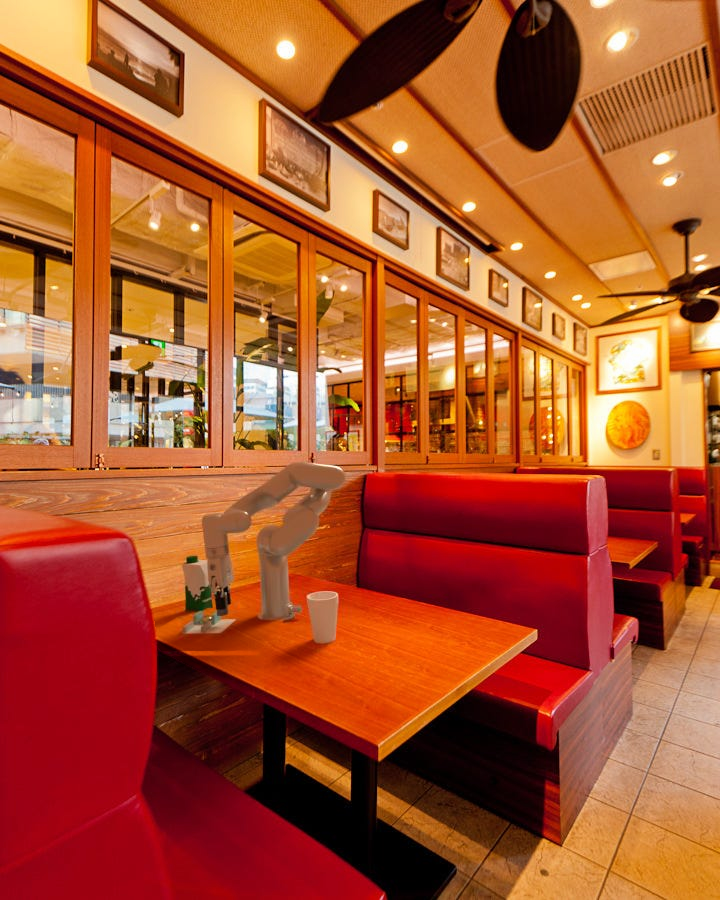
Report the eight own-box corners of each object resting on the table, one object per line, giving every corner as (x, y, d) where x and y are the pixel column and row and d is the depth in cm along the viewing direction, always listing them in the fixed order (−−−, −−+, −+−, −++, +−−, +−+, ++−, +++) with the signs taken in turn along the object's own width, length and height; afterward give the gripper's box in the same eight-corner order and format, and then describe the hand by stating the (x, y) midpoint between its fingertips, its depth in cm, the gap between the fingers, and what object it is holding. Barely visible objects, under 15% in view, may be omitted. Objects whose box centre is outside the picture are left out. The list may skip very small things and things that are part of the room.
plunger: (215, 617, 167) (215, 615, 167) (210, 621, 163) (210, 619, 163) (204, 617, 168) (203, 615, 168) (198, 621, 164) (198, 619, 164)
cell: (230, 611, 163) (228, 589, 163) (225, 615, 160) (224, 592, 160) (219, 612, 164) (217, 589, 164) (215, 616, 160) (213, 593, 160)
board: (236, 622, 167) (235, 610, 167) (220, 636, 154) (220, 623, 154) (199, 623, 168) (198, 610, 169) (181, 637, 156) (180, 623, 156)
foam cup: (346, 636, 149) (344, 592, 149) (329, 647, 141) (326, 601, 141) (320, 632, 154) (318, 590, 154) (302, 642, 146) (300, 598, 146)
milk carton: (196, 606, 189) (194, 554, 189) (216, 607, 186) (214, 554, 186) (181, 613, 180) (178, 559, 181) (202, 615, 178) (199, 559, 178)
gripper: (218, 556, 153) (224, 615, 153) (237, 544, 169) (243, 598, 170) (195, 558, 154) (201, 617, 154) (216, 546, 170) (222, 599, 170)
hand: (223, 606), depth 162 cm, fingers closed on cell, 3 cm apart
